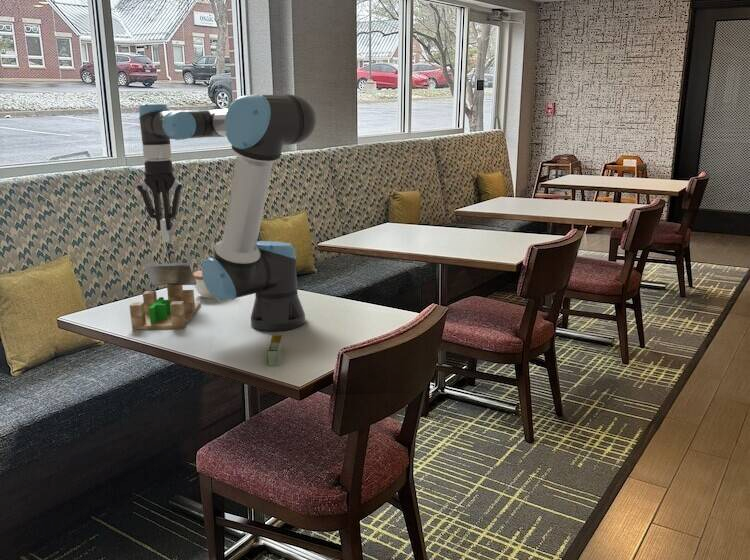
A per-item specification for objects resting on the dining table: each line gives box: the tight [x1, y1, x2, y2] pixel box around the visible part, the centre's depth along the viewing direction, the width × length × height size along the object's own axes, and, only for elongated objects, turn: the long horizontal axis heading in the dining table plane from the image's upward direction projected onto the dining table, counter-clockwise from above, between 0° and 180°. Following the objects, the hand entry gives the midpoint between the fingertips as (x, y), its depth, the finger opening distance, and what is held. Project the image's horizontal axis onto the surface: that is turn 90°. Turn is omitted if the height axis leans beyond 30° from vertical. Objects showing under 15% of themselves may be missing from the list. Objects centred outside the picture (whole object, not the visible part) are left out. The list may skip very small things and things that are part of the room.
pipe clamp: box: [149, 296, 171, 323], centre depth 195 cm, size 11×4×5 cm, turn 2°
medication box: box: [266, 334, 284, 367], centre depth 165 cm, size 12×3×4 cm, turn 3°
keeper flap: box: [144, 262, 196, 287], centre depth 203 cm, size 13×9×1 cm
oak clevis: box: [129, 285, 201, 330], centre depth 198 cm, size 14×22×7 cm, turn 2°
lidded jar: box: [193, 269, 215, 299], centre depth 220 cm, size 11×11×9 cm
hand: (165, 241), depth 199 cm, fingers closed
